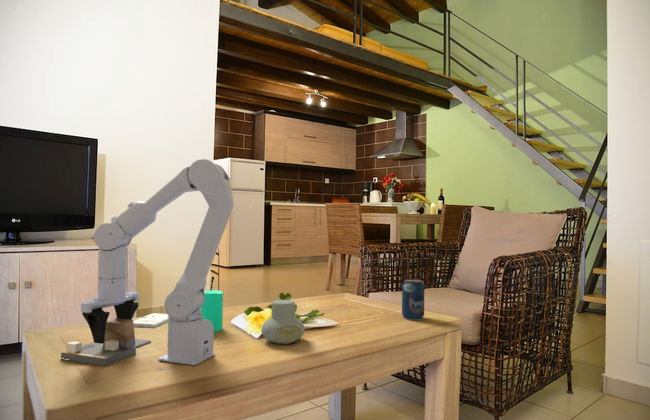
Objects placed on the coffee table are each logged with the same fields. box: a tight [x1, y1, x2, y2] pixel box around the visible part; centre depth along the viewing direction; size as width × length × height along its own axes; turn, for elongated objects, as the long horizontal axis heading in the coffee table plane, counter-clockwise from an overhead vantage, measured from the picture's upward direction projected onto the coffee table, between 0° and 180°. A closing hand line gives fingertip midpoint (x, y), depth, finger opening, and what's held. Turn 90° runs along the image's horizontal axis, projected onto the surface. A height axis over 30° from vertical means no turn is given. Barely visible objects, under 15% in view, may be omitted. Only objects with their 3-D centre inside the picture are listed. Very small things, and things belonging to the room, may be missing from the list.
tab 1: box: [66, 340, 83, 353], centre depth 96 cm, size 2×2×2 cm
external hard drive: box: [133, 312, 169, 329], centre depth 130 cm, size 2×8×12 cm
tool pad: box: [133, 338, 152, 349], centre depth 108 cm, size 12×6×1 cm, turn 72°
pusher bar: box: [103, 316, 136, 350], centre depth 100 cm, size 7×2×6 cm, turn 71°
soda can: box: [401, 278, 425, 321], centre depth 139 cm, size 7×7×12 cm
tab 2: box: [105, 340, 119, 351], centre depth 98 cm, size 2×2×2 cm
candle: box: [200, 289, 224, 333], centre depth 122 cm, size 6×6×12 cm
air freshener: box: [260, 299, 306, 345], centre depth 112 cm, size 11×8×10 cm
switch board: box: [60, 341, 137, 367], centre depth 98 cm, size 12×9×2 cm
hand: (111, 338), depth 98 cm, fingers open, 6 cm apart
